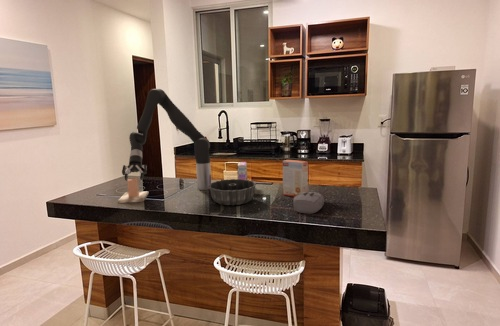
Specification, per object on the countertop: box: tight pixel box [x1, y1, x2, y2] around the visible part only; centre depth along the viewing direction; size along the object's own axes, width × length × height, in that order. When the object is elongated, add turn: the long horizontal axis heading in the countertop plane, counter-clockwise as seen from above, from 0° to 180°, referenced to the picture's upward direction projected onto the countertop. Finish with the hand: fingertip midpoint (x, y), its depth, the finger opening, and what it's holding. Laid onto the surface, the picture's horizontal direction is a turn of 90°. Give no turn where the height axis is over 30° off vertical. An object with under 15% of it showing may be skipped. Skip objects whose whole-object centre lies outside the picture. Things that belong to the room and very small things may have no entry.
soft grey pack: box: [292, 191, 325, 215], centre depth 164 cm, size 15×8×20 cm
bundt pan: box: [209, 178, 257, 206], centre depth 179 cm, size 26×26×10 cm
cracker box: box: [282, 159, 309, 198], centre depth 186 cm, size 14×6×21 cm, turn 47°
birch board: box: [117, 190, 149, 204], centre depth 191 cm, size 14×18×2 cm
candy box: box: [236, 161, 248, 180], centre depth 208 cm, size 14×6×16 cm, turn 179°
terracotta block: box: [126, 177, 140, 197], centre depth 190 cm, size 5×5×10 cm
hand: (133, 179), depth 192 cm, fingers open, 8 cm apart
